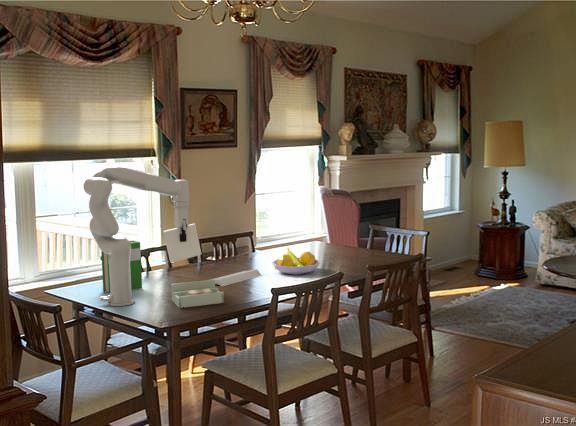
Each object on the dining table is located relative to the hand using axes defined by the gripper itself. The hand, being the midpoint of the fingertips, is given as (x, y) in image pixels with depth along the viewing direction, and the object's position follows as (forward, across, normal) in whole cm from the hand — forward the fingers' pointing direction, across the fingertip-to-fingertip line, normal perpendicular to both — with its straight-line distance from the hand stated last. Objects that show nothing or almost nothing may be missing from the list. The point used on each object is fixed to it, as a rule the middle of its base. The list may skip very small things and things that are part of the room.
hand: (182, 241), depth 333 cm
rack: (+25, +25, 0) cm, 35 cm away
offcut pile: (+25, +28, 0) cm, 38 cm away
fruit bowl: (+25, -15, +68) cm, 74 cm away
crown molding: (+26, -12, +31) cm, 42 cm away
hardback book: (+25, -15, -28) cm, 41 cm away
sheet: (+9, 0, +2) cm, 9 cm away
